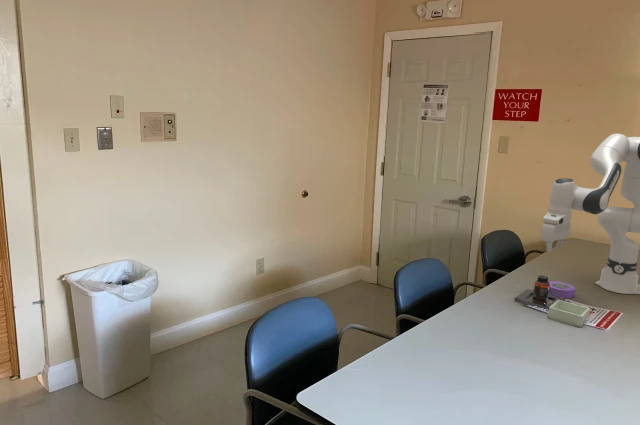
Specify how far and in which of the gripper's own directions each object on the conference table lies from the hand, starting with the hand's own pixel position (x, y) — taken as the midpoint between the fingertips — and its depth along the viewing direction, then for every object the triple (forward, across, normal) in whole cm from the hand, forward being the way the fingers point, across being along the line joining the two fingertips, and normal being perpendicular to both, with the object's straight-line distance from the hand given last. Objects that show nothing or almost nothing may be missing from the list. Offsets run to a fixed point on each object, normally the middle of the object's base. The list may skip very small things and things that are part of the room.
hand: (554, 249), depth 204 cm
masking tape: (+24, -18, -1) cm, 29 cm away
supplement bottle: (+24, +1, -2) cm, 24 cm away
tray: (+24, +9, +13) cm, 29 cm away
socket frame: (+24, +1, -2) cm, 24 cm away
